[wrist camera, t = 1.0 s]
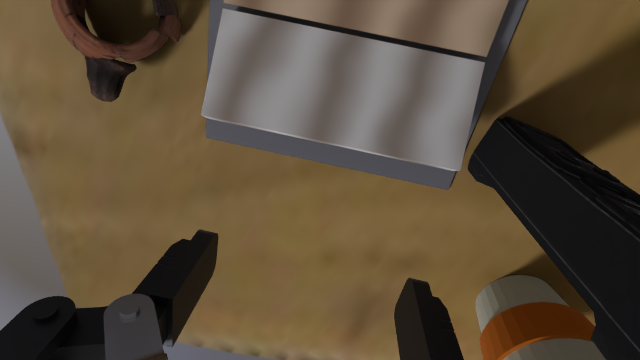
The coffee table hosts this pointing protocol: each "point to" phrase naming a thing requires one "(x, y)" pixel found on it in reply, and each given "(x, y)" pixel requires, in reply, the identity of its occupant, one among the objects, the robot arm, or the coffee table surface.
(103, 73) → the pottery mug
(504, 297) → the reusable coffee cup
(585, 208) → the portable radio
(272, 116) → the plank
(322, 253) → the coffee table surface
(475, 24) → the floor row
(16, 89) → the coffee table surface
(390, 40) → the underlay mat
